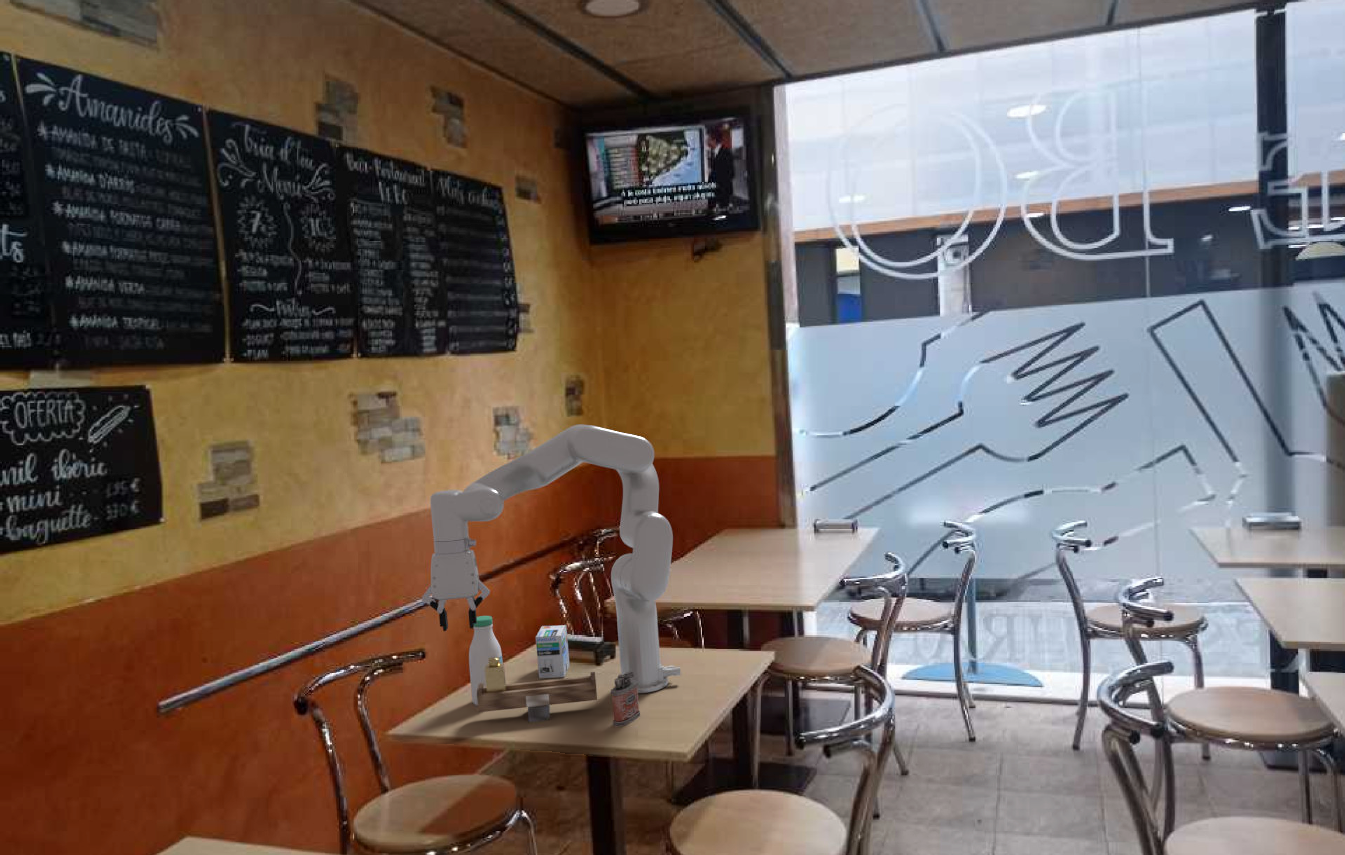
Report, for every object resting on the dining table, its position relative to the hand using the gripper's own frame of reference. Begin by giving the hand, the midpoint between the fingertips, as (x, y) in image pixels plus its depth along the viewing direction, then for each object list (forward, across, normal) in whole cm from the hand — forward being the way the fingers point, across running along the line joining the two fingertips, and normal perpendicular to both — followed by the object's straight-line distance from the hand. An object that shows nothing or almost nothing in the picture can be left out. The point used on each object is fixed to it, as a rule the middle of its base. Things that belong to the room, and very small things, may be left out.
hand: (458, 627), depth 220 cm
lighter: (+22, -35, +9) cm, 42 cm away
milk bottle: (+22, -4, -13) cm, 26 cm away
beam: (+21, -16, 0) cm, 27 cm away
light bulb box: (+22, -19, -31) cm, 42 cm away
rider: (+16, -7, 0) cm, 17 cm away
